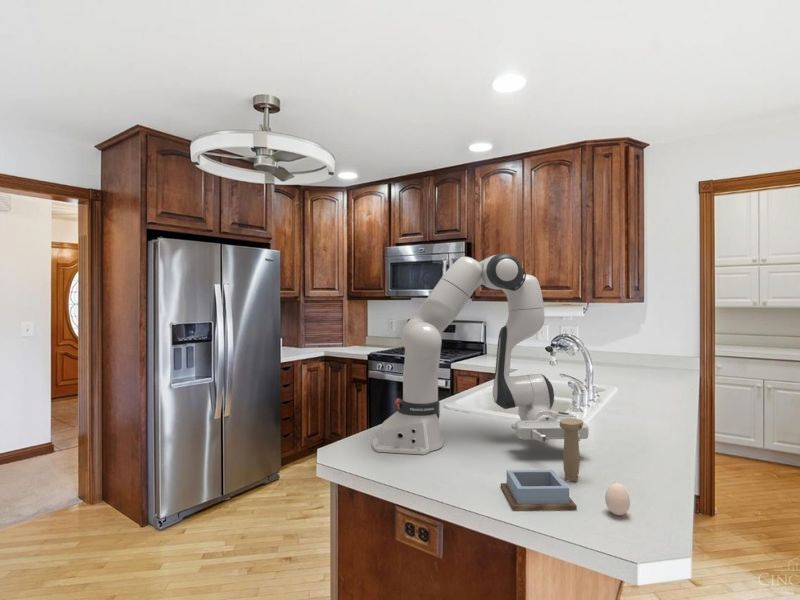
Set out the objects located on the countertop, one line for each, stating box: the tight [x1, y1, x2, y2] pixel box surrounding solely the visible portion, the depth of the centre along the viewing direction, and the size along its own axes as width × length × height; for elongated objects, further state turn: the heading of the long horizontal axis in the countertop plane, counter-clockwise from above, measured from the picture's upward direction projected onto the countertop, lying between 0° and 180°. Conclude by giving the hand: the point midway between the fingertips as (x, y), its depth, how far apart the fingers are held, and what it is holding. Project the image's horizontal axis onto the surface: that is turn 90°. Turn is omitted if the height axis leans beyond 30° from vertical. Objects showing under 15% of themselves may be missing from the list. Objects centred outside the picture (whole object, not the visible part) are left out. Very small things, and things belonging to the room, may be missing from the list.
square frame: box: [506, 469, 570, 504], centre depth 105 cm, size 11×10×4 cm
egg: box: [604, 482, 631, 516], centre depth 97 cm, size 5×5×7 cm
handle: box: [560, 417, 584, 483], centre depth 115 cm, size 5×6×15 cm
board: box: [500, 482, 578, 512], centre depth 105 cm, size 14×12×1 cm
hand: (560, 438), depth 123 cm, fingers open, 8 cm apart
